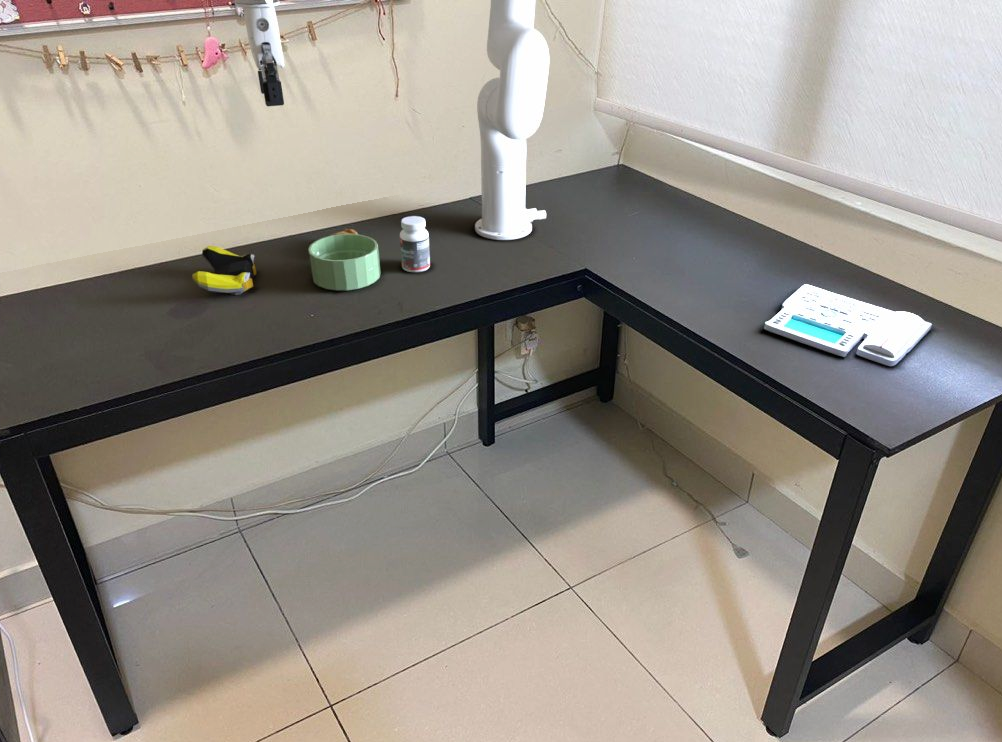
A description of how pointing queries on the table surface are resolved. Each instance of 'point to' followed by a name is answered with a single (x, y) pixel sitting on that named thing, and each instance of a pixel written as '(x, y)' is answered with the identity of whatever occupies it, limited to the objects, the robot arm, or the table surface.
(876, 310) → the office telephone
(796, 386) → the table surface
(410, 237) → the pill bottle
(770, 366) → the table surface
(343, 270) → the green bowl
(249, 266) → the gaming controller
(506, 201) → the robot arm
